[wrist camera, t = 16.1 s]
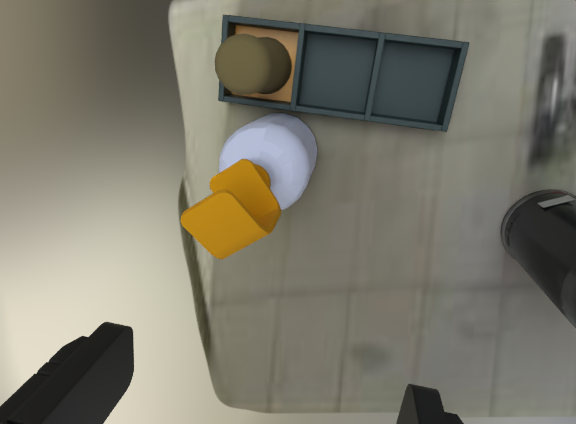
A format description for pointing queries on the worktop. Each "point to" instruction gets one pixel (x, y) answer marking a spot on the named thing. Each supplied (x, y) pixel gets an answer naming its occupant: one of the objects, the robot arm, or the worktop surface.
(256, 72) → the cork
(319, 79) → the tray
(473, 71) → the worktop surface
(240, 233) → the soap bottle
